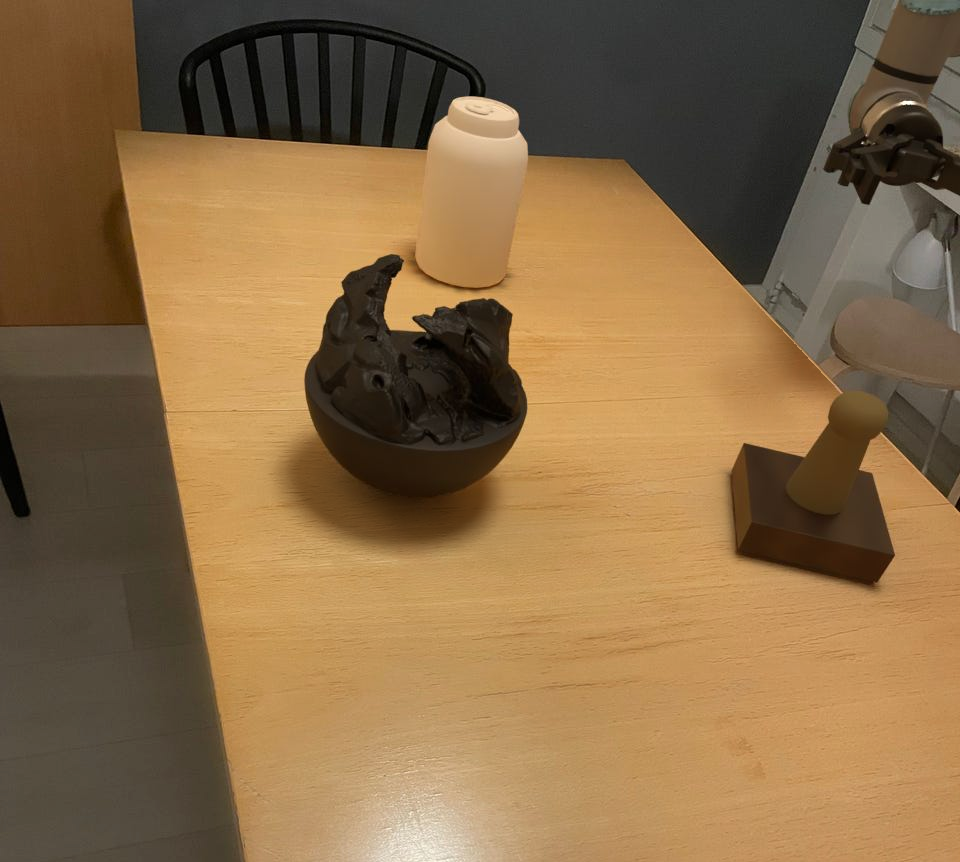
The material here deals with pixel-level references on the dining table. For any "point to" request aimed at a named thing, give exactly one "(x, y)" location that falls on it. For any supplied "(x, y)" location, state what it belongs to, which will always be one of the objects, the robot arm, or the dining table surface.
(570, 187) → the dining table surface
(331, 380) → the bowl of black rocks
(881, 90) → the robot arm
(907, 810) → the dining table surface
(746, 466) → the walnut stand
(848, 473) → the wooden peg doll
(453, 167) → the can
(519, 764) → the dining table surface
